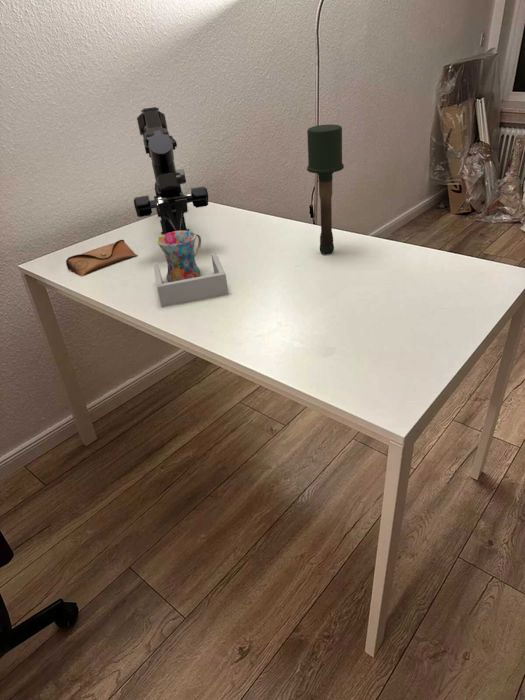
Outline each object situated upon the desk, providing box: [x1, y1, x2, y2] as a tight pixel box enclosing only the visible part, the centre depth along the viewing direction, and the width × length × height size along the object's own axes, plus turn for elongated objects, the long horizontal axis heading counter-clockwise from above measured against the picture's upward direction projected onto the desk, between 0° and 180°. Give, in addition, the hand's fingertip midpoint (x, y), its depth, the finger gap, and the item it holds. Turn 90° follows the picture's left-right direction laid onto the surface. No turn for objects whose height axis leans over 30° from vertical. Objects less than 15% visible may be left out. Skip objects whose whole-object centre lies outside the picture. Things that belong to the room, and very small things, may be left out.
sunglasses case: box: [65, 239, 139, 277], centre depth 135 cm, size 18×7×7 cm
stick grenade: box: [306, 123, 345, 255], centre depth 118 cm, size 8×9×30 cm
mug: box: [156, 230, 202, 282], centre depth 119 cm, size 12×9×11 cm
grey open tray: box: [153, 252, 229, 308], centre depth 115 cm, size 14×15×5 cm
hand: (178, 231), depth 124 cm, fingers closed
